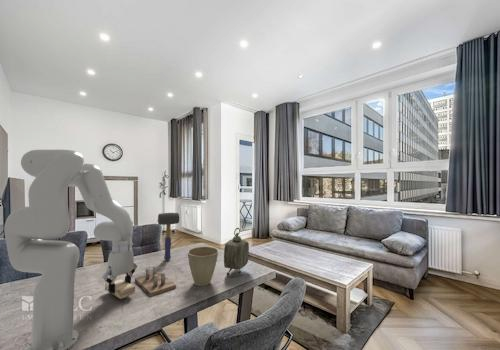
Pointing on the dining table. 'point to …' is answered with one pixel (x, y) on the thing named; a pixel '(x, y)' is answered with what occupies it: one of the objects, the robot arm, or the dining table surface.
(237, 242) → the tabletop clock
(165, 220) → the rubber mallet
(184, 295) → the dining table surface
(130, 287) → the oak board
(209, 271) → the plant pot
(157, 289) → the wooden peg stand
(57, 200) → the robot arm
